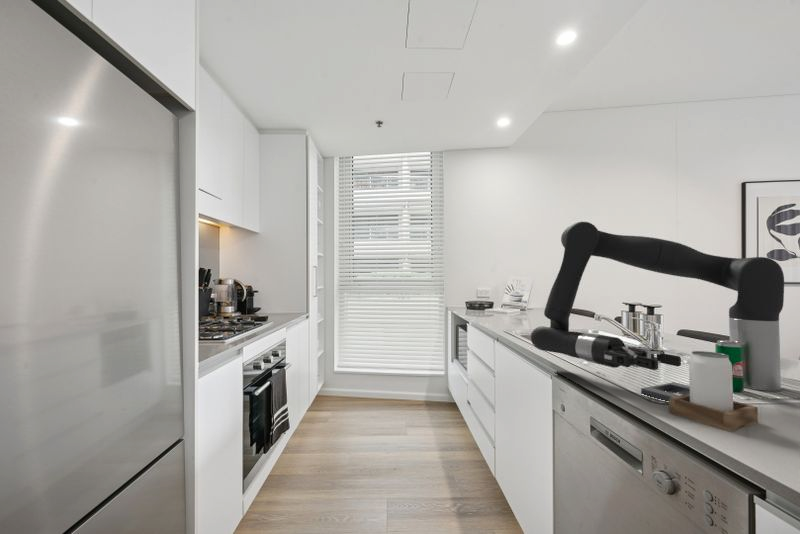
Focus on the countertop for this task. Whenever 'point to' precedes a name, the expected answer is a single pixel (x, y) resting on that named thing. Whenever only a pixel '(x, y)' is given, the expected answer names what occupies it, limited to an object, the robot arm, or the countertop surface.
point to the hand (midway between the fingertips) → (668, 363)
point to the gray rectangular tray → (660, 390)
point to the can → (711, 380)
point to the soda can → (733, 361)
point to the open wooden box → (714, 413)
